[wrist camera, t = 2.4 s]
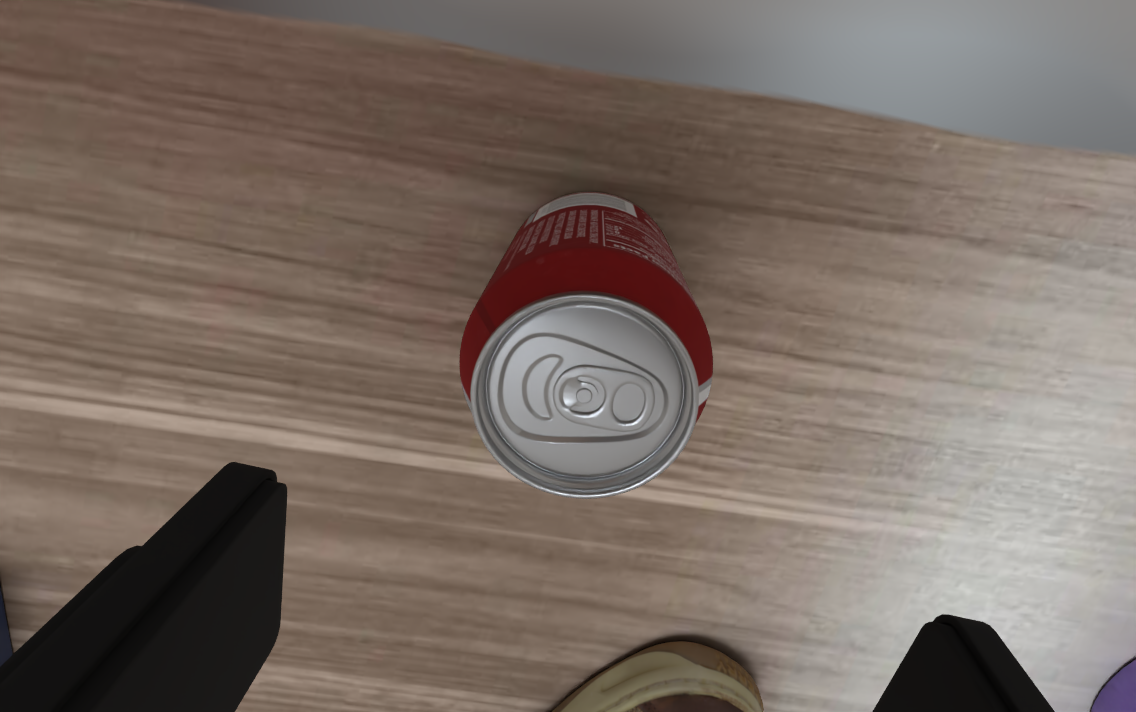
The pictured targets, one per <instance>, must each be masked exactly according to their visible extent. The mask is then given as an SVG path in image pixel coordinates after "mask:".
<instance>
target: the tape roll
mask: <svg viewBox="0 0 1136 712" xmlns="http://www.w3.org/2000/svg"><path fill="white" fill-rule="evenodd" d="M1091 712H1136V659H1135V660H1134V661H1133V662H1131V663H1130V664H1128V665H1127V666H1125V667H1124V668H1123V669H1122V670H1121V671H1120V672H1118V673H1117V674H1116V675H1115V676H1114V677H1113V678H1112V679H1111V680H1110V681H1109V682H1108V683H1107V684H1106V685H1105V687H1104V688H1103V689H1102V691H1101V692H1100V693H1099V695H1098V697H1097V699H1096V700H1095V702H1094V705H1093V707H1092V710H1091Z"/></svg>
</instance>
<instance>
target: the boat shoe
mask: <svg viewBox="0 0 1136 712" xmlns="http://www.w3.org/2000/svg"><path fill="white" fill-rule="evenodd" d="M763 710H764V709H763V703H762V700H761V696H760V693H759V690H758V688H757V685H756V684H755V682H754V680H753V678H752V677H751V676H750V675H749V674H748V672H747V671H746V670H745V669H744V668H743V667H742V666H740V665H739V664H738V663H737V662H736V661H734V660H732V659H730V658H729V657H728V656H726V655H725V654H723V653H721V652H719V651H717V650H715V649H713V648H710V647H707V646H704V645H701V644H697V643H693V642H684V641H679V642H668V643H663V644H658V645H655V646H652V647H649V648H646V649H644V650H642V651H640V652H638V653H636V654H634V655H632V656H630V657H628V658H626V659H624V660H622V661H621V662H619V663H617V664H615V665H613V666H612V667H610V668H608V669H607V670H605V671H603V672H602V673H600V674H598V675H597V676H595V677H594V678H593V679H591V680H590V681H588V682H587V683H585V684H584V685H583V686H581V687H580V688H579V689H577V690H576V691H575V692H574V693H573V694H571V695H570V696H569V697H568V698H566V699H565V700H564V701H563V702H562V703H561V704H560V705H559V706H558V707H557V708H556V709H554V710H553V711H552V712H763Z"/></svg>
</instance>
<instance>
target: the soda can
mask: <svg viewBox="0 0 1136 712" xmlns="http://www.w3.org/2000/svg"><path fill="white" fill-rule="evenodd" d="M712 374H713V356H712V347H711V342H710V337H709V334H708V331H707V328H706V325H705V322H704V320H703V318H702V316H701V313H700V311H699V309H698V307H697V305H696V303H695V300H694V298H693V296H692V294H691V292H690V290H689V288H688V285H687V283H686V281H685V279H684V277H683V275H682V273H681V271H680V268H679V266H678V264H677V262H676V260H675V258H674V256H673V253H672V251H671V249H670V247H669V245H668V243H667V241H666V238H665V236H664V235H663V233H662V231H661V229H660V228H659V227H658V225H657V224H656V223H655V221H654V220H653V219H652V218H651V217H650V216H649V215H648V214H647V213H646V212H645V211H643V210H642V209H641V208H639V207H638V206H637V205H635V204H633V203H632V202H630V201H628V200H626V199H624V198H621V197H618V196H616V195H612V194H608V193H602V192H577V193H571V194H568V195H564V196H561V197H559V198H556V199H554V200H552V201H550V202H548V203H546V204H545V205H543V206H542V207H540V208H539V209H538V210H536V211H535V212H534V213H533V214H532V215H531V216H530V217H529V218H528V219H527V220H526V221H525V222H524V223H523V225H522V226H521V228H520V229H519V231H518V232H517V234H516V236H515V237H514V239H513V241H512V243H511V244H510V246H509V248H508V250H507V251H506V253H505V255H504V257H503V258H502V260H501V262H500V264H499V265H498V267H497V269H496V271H495V272H494V274H493V276H492V278H491V279H490V281H489V283H488V285H487V286H486V288H485V290H484V292H483V293H482V295H481V297H480V299H479V300H478V302H477V304H476V306H475V308H474V310H473V311H472V313H471V315H470V317H469V320H468V322H467V325H466V327H465V331H464V334H463V338H462V343H461V349H460V376H461V383H462V388H463V391H464V395H465V398H466V401H467V403H468V406H469V408H470V410H471V412H472V414H473V418H474V422H475V425H476V428H477V431H478V433H479V435H480V437H481V439H482V441H483V443H484V444H485V446H486V448H487V449H488V451H489V452H490V453H491V454H492V456H493V457H494V458H495V459H496V460H497V461H498V462H499V464H500V465H501V466H503V467H504V468H505V469H506V470H507V471H508V472H509V473H511V474H512V475H513V476H515V477H516V478H518V479H519V480H521V481H523V482H524V483H526V484H528V485H530V486H532V487H534V488H536V489H539V490H541V491H544V492H547V493H551V494H554V495H558V496H563V497H570V498H582V499H589V498H602V497H609V496H614V495H618V494H621V493H625V492H628V491H630V490H633V489H636V488H638V487H640V486H642V485H644V484H646V483H647V482H649V481H651V480H652V479H654V478H655V477H657V476H658V475H659V474H661V473H662V472H663V471H664V470H665V469H667V468H668V467H669V466H670V465H671V464H672V463H673V462H674V460H675V459H676V458H677V457H678V456H679V454H680V453H681V452H682V450H683V449H684V447H685V445H686V444H687V442H688V440H689V438H690V436H691V434H692V431H693V429H694V426H695V423H696V422H697V420H698V419H699V417H700V415H701V413H702V411H703V409H704V406H705V404H706V401H707V398H708V395H709V391H710V387H711V382H712Z"/></svg>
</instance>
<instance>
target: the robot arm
mask: <svg viewBox="0 0 1136 712" xmlns="http://www.w3.org/2000/svg"><path fill="white" fill-rule="evenodd" d="M286 508H287V487H286V485H285V484H283V483H279V482H277V476H276V473H275V472H274V471H273V470H269V469H265V468H260V467H255V466H251V465H246V464H241V463H237V462H231V463H229V464H227V465H226V466H224V467H223V468H222V469H221V470H220V471H219V472H218V473H217V474H216V475H215V476H214V477H213V478H212V479H211V480H210V481H209V482H208V483H207V484H206V485H205V486H204V487H203V488H202V489H201V490H200V491H199V492H198V493H196V494H195V495H194V496H193V497H192V498H191V499H190V500H189V501H188V502H187V503H186V504H185V505H184V506H183V507H182V508H181V509H180V510H179V511H178V512H177V513H176V514H175V515H174V516H173V517H172V518H171V519H170V520H169V521H168V522H167V523H166V524H165V525H163V526H162V527H161V528H160V529H159V530H158V531H157V532H156V533H155V534H154V535H153V536H152V537H151V538H150V539H149V540H148V541H147V542H146V543H145V544H144V545H143V546H134V547H132V548H129V549H127V550H125V551H124V552H123V553H121V554H120V555H119V556H118V557H116V558H115V559H114V560H113V561H112V562H111V563H110V564H109V565H108V566H107V567H106V568H104V569H103V570H102V571H101V572H100V573H99V574H98V575H97V576H96V577H95V578H94V579H93V580H92V581H91V582H90V583H89V584H87V585H86V586H85V587H84V588H83V589H82V590H81V591H80V592H79V593H78V594H77V595H76V596H75V597H74V598H73V599H72V600H70V601H69V602H68V603H67V604H66V605H65V606H64V607H63V608H62V609H61V610H60V611H59V612H58V613H57V614H56V615H55V616H53V617H52V618H51V619H50V620H49V621H48V622H47V623H46V624H45V625H44V626H43V627H42V628H41V629H40V630H39V631H38V632H36V633H35V634H34V635H33V636H32V637H31V638H30V639H29V640H28V641H27V642H26V643H25V644H24V645H23V646H22V647H20V648H19V649H18V650H17V651H16V652H15V653H14V654H13V655H12V656H11V657H10V658H9V659H8V660H7V661H6V662H5V663H3V664H2V665H1V666H0V712H235V710H236V709H237V707H238V705H239V704H240V702H241V700H242V699H243V697H244V695H245V694H246V692H247V690H248V689H249V687H250V685H251V684H252V682H253V680H254V679H255V677H256V675H257V674H258V672H259V670H260V669H261V667H262V666H263V664H264V662H265V661H266V659H267V657H268V656H269V654H270V652H271V650H272V648H273V646H274V644H275V642H276V639H277V636H278V632H279V628H280V620H281V602H282V583H283V564H284V545H285V526H286ZM873 712H1055V711H1054V710H1053V709H1052V707H1051V706H1050V705H1049V703H1048V702H1047V701H1046V699H1045V698H1044V696H1043V695H1042V694H1041V692H1040V691H1039V690H1038V688H1037V687H1036V686H1035V684H1034V683H1033V682H1032V680H1031V679H1030V677H1029V676H1028V675H1027V673H1026V672H1025V671H1024V669H1023V668H1022V667H1021V665H1020V664H1019V663H1018V661H1017V660H1016V658H1015V657H1014V656H1013V654H1012V653H1011V652H1010V650H1009V649H1008V648H1007V646H1006V645H1005V644H1004V642H1003V641H1002V639H1001V638H1000V637H999V635H998V634H997V633H996V631H995V630H994V629H993V628H992V627H991V626H990V625H988V624H986V623H984V622H980V621H975V620H971V619H966V618H961V617H957V616H952V615H940V616H938V617H936V618H935V620H934V621H933V622H928V623H926V624H925V625H924V626H923V627H922V628H921V630H920V632H919V633H918V635H917V637H916V639H915V640H914V642H913V644H912V645H911V647H910V649H909V651H908V652H907V654H906V656H905V657H904V659H903V661H902V662H901V664H900V666H899V668H898V669H897V671H896V673H895V674H894V676H893V678H892V679H891V681H890V683H889V685H888V686H887V688H886V690H885V691H884V693H883V695H882V696H881V698H880V700H879V702H878V703H877V705H876V707H875V708H874V710H873Z"/></svg>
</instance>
